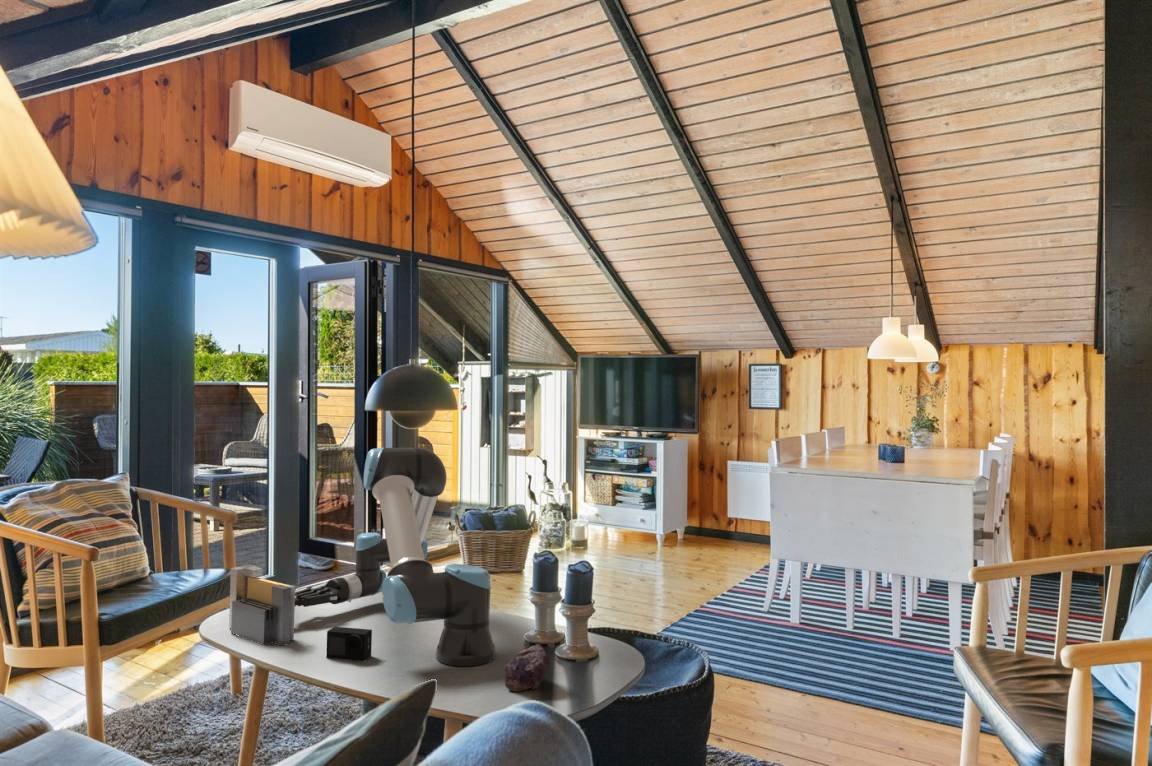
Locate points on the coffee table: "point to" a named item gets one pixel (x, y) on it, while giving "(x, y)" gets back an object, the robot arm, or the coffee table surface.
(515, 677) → the rock
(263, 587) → the orange wooden board
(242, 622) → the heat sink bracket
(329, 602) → the robot arm
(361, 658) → the digital camera
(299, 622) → the coffee table surface
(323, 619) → the coffee table surface
